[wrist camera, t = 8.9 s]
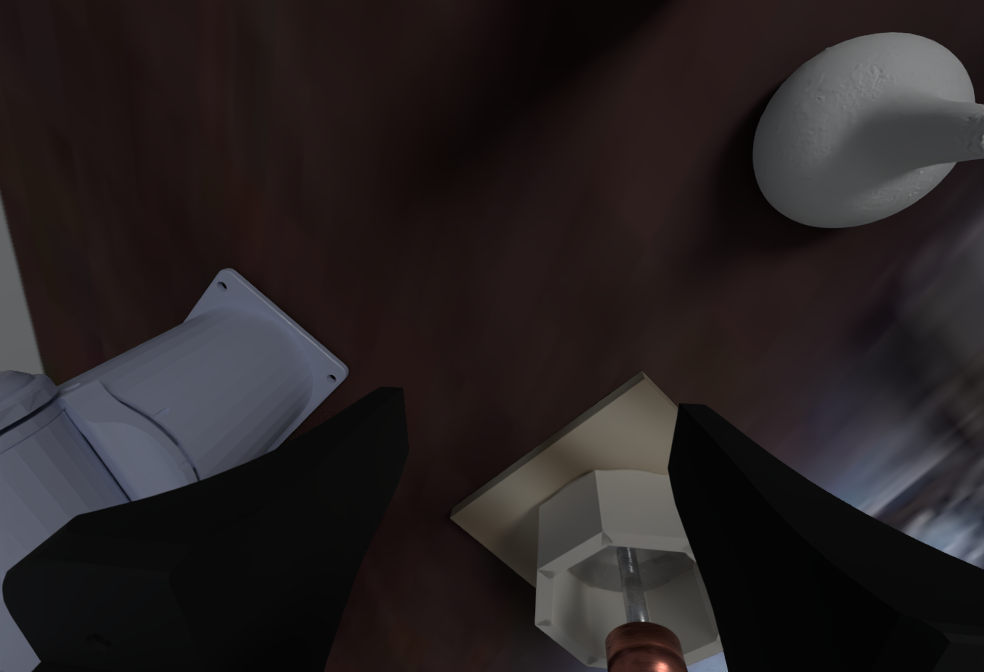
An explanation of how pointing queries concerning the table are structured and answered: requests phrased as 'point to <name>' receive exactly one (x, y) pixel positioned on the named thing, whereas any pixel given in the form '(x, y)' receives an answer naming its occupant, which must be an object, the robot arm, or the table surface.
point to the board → (569, 469)
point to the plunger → (637, 606)
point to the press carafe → (627, 523)
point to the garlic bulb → (866, 130)
